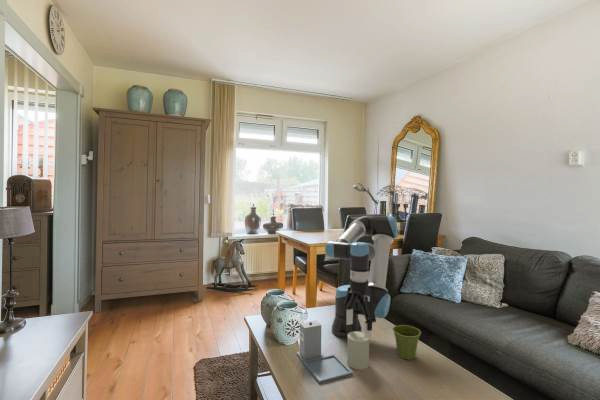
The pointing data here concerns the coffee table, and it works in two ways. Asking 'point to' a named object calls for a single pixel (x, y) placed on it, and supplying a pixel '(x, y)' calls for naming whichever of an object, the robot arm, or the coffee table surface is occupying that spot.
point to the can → (358, 350)
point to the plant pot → (406, 340)
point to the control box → (310, 341)
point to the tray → (327, 368)
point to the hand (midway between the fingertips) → (358, 330)
